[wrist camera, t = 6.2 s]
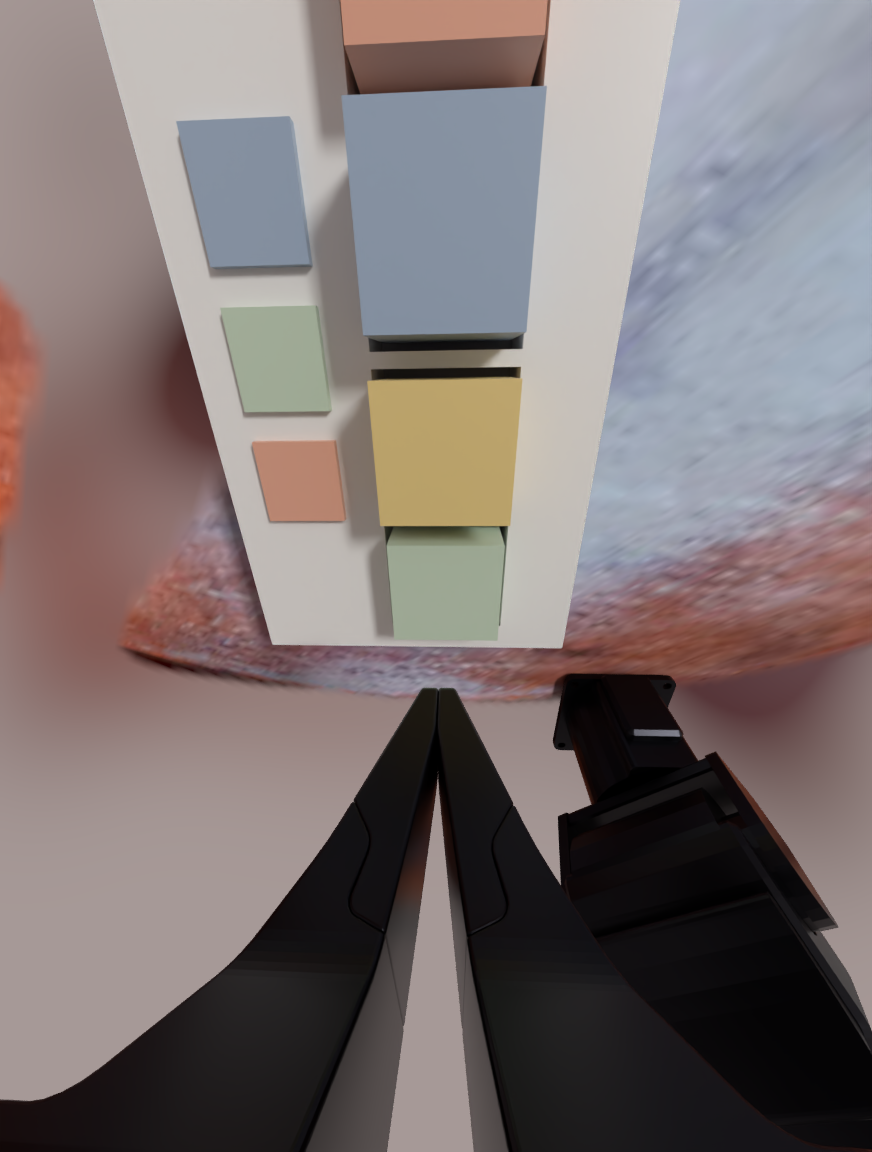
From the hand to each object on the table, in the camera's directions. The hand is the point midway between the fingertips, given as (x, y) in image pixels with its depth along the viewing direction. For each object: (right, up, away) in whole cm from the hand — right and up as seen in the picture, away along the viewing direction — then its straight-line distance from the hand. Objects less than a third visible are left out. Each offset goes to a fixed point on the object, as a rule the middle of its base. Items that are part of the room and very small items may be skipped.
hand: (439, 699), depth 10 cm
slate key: (0, +13, +3) cm, 14 cm away
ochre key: (0, +8, +5) cm, 10 cm away
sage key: (0, +4, +9) cm, 10 cm away
